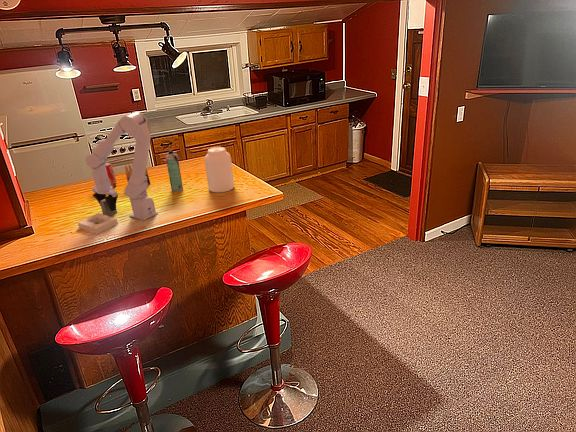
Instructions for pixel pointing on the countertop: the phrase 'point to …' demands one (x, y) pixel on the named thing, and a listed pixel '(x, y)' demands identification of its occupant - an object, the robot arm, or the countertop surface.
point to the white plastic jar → (219, 170)
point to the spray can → (174, 171)
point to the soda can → (110, 174)
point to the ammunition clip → (131, 173)
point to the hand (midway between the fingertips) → (108, 208)
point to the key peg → (106, 208)
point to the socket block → (97, 228)
